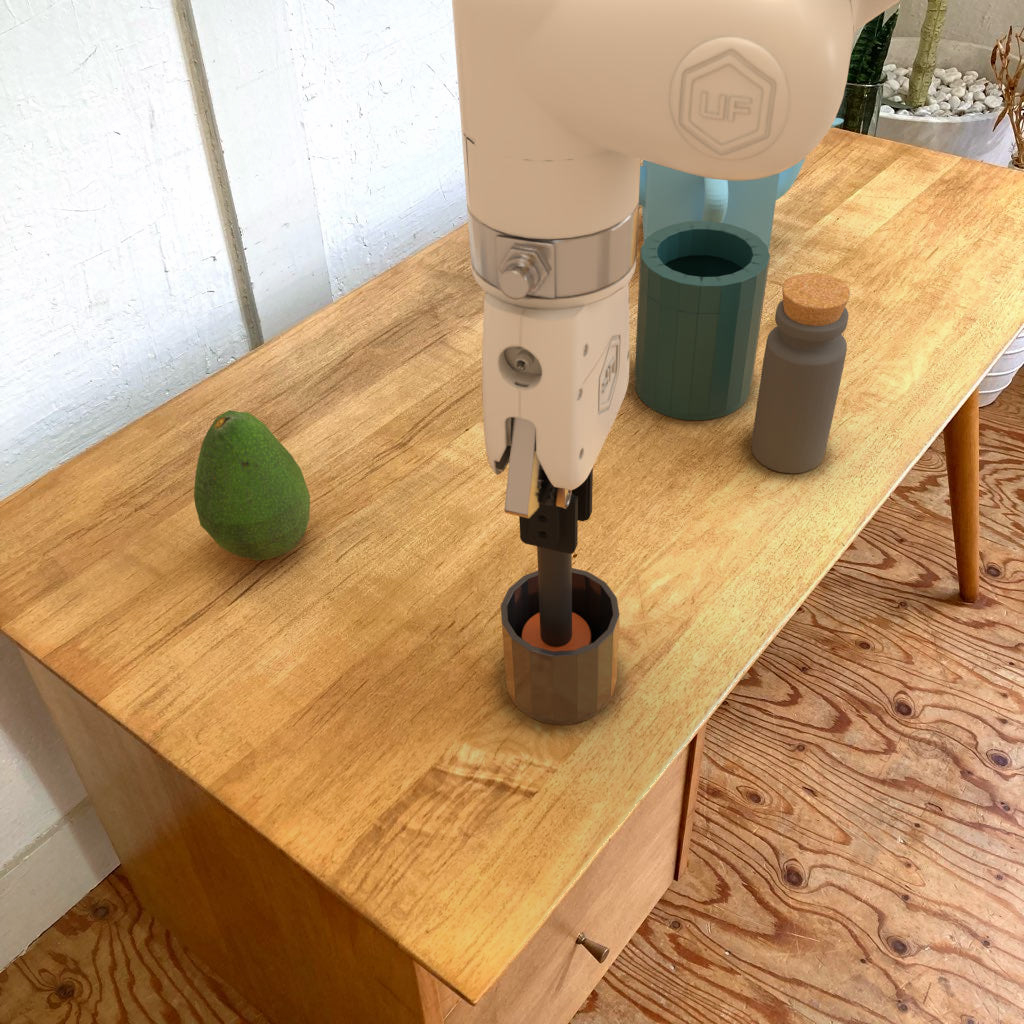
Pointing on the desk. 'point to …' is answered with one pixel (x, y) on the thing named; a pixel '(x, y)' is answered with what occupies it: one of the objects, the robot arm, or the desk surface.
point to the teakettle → (711, 198)
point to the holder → (561, 653)
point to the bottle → (801, 374)
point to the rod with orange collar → (555, 604)
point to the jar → (699, 318)
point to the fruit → (249, 489)
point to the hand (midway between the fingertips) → (556, 527)
